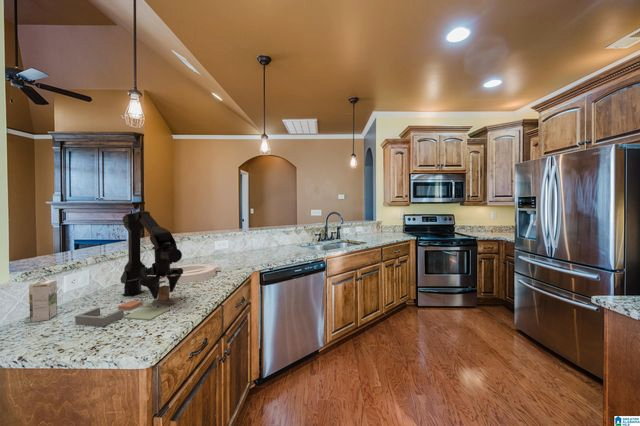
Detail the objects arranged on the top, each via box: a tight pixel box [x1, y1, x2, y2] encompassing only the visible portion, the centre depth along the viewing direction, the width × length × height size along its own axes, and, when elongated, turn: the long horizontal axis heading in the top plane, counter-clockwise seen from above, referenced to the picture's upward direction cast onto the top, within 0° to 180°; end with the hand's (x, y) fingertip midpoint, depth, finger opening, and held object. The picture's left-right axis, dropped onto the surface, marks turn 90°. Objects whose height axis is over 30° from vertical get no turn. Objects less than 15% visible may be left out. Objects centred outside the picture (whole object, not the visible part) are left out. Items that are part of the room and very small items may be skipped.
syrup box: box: [28, 279, 58, 323], centre depth 104 cm, size 6×6×14 cm
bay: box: [74, 307, 125, 327], centre depth 101 cm, size 8×12×3 cm, turn 79°
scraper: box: [151, 285, 176, 308], centre depth 117 cm, size 4×8×8 cm, turn 79°
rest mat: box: [122, 306, 170, 321], centre depth 107 cm, size 10×12×1 cm
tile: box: [117, 300, 144, 311], centre depth 114 cm, size 6×6×2 cm
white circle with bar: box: [159, 263, 222, 284], centre depth 161 cm, size 28×28×5 cm
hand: (163, 295), depth 117 cm, fingers open, 9 cm apart
